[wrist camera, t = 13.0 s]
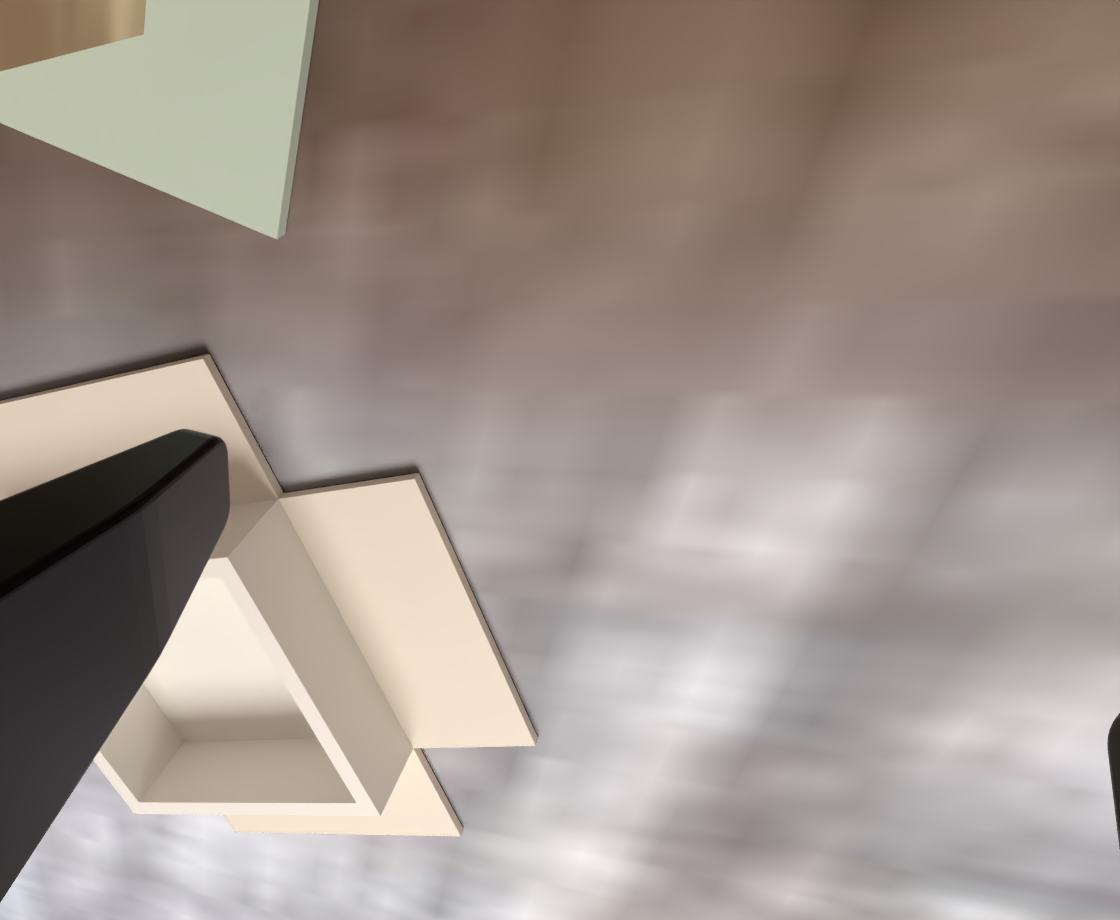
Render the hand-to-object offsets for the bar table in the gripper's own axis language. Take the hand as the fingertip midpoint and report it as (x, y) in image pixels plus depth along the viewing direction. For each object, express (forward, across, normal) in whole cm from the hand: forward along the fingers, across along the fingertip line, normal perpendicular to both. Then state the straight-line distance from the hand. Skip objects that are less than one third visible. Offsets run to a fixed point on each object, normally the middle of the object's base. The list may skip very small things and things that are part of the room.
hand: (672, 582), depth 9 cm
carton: (+13, +12, +19) cm, 26 cm away
